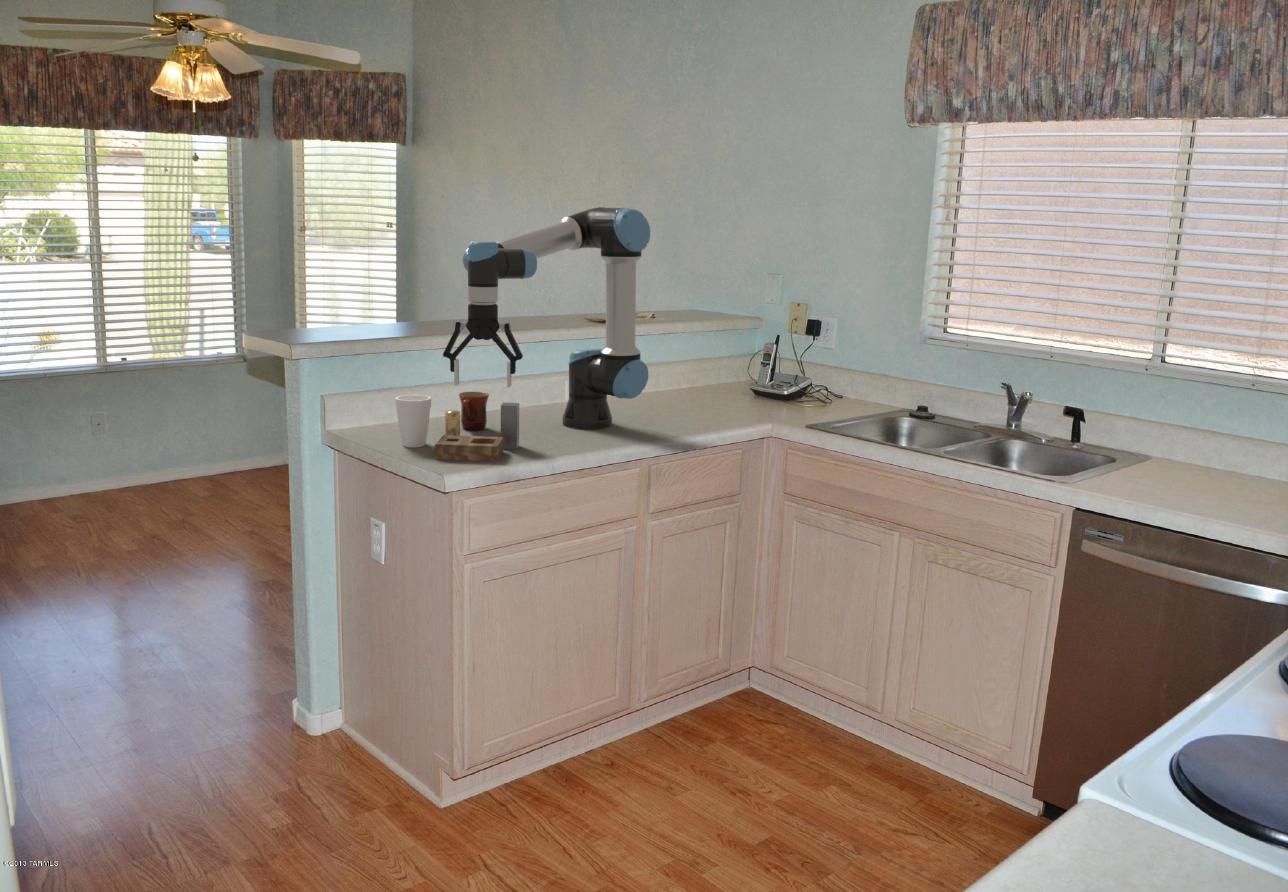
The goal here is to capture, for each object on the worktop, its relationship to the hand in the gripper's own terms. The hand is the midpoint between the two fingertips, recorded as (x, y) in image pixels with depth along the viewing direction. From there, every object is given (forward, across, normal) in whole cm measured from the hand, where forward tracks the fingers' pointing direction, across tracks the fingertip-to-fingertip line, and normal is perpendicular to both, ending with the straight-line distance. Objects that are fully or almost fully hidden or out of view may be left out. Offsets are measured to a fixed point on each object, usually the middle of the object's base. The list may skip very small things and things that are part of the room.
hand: (483, 385), depth 268 cm
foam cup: (+19, +20, -10) cm, 30 cm away
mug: (+19, +8, -32) cm, 38 cm away
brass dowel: (+19, +10, -13) cm, 25 cm away
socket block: (+19, +3, 0) cm, 19 cm away
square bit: (+19, -6, -11) cm, 22 cm away
